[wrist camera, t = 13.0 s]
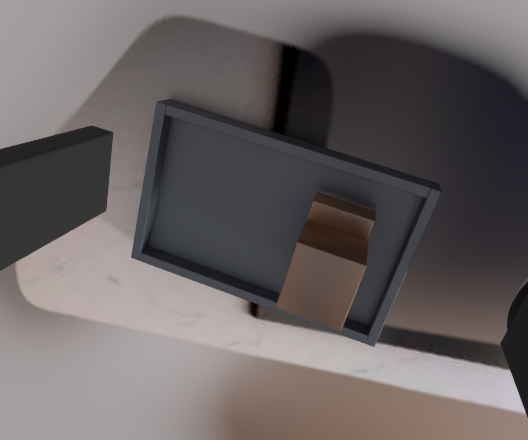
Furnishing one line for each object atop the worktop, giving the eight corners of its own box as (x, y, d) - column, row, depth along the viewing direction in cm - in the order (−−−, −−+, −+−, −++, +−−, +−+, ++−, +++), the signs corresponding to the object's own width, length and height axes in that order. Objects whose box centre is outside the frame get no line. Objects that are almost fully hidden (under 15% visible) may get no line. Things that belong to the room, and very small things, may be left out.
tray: (143, 247, 41) (130, 257, 39) (169, 99, 36) (156, 101, 34) (374, 331, 38) (374, 347, 36) (438, 183, 33) (442, 191, 31)
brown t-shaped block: (290, 275, 37) (269, 325, 30) (319, 186, 34) (303, 219, 27) (342, 294, 37) (333, 349, 30) (376, 205, 34) (375, 244, 27)
